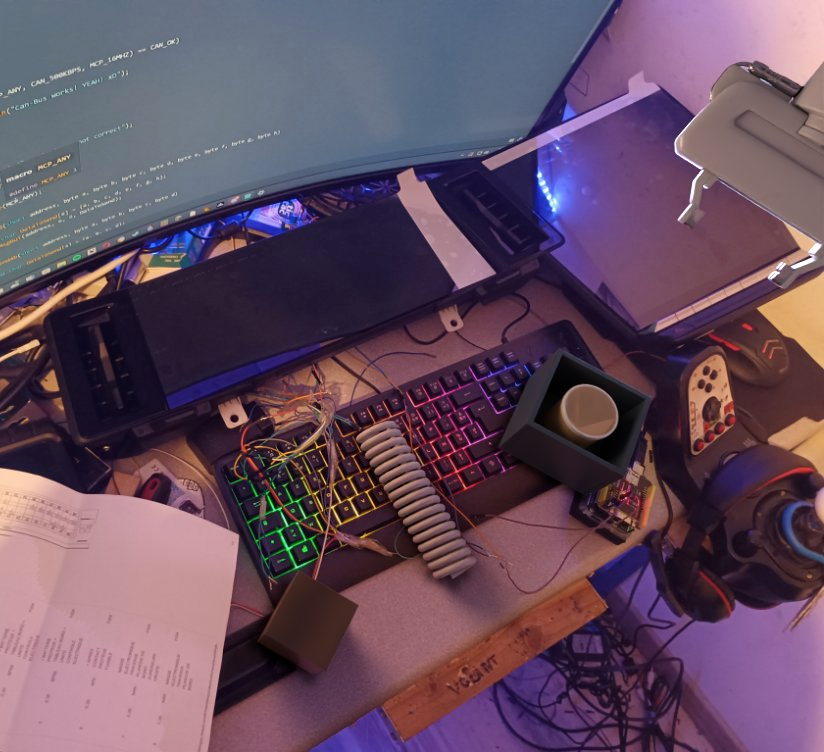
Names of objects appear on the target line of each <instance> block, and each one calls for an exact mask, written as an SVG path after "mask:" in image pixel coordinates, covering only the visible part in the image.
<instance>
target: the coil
mask: <svg viewBox="0 0 824 752" xmlns="http://www.w3.org/2000/svg"><path fill="white" fill-rule="evenodd" d="M397 426H398V425H397V423H396V422H395V421H393V420H386V421H382V422H380V423H377V424H374V425H373V426H371V427H368V428H366V429H364V430H363V431H362V432H360V433H358V435H357V436H356V437H355V441H356V443H358V444H361V445H360V451H363V452H366V453H365V454H364V456H365V459H367V460H369V465H370V467H371V468H375V469H374V474H375V475H376V476H380V477H379V478H378V481H379V483H380V484H385V485H384V486H383V490H384V492H386V493H389V494H388V499H389V500H390V501H394V500H395V501H394V502H393V505H392V506H393V508H394V509H399V511H398V512H397V514H398V515H397V516H399V517H400V518H404V517H405V518H404V519H403V520H402V524H403V525H404V526H406V527H408V526H409V527H408V529H407V532H408V534H410V535H414V536H413V537H412V541H413V543H415V544H418V546H417V550H418V551H419V552H420V553H423V554H422V558H423V560H424V561H427V562H428V561H429V562H428V563H427V568H428V569H429V570H431V571H433V570H434V571H433V572H432V577H433V578H434V579H435V580H436V579H437V580H439V579H442V578H445V577H447V576H450V578H451V580H454V579H455V578H456V577H458V576H460V575H461V574H463V573H464V572H466V571H467V570H469V569H470V568H471V567H473V566H474V565H475V564H476V563H477V558H476V557H475V556H472V555H471V553H472V549H471V548H469V547H467V546H466V544H467V543H466V542H467V541H466V539H464V538H460V537H461V531H460V530H459V529H455V528H456V523H455V521H453V520H450V519H451V514H450V512H447V511H446V506H445V504H443V503H440V502H441V497H440V496H439V495H438V494H436V489H435V488H434V487H433V486H431V480H430V479H429V478H426V471H424V470H423V469H421V464H420V462H418V461H416V455H415V454H414V453H411V451H412V448H411V446H409V445H407V440H406V438H405V437H402V431H401V430H400V429H398V427H397ZM393 457H394V458H393ZM398 465H399V466H398ZM399 475H401V476H399ZM398 476H399V477H398ZM396 477H397V478H396ZM401 485H403V486H401ZM399 486H400V487H399ZM398 487H399V488H398ZM407 493H408V494H407ZM405 494H406V495H405ZM400 497H401V498H400ZM407 504H408V505H407ZM403 506H404V507H403ZM402 507H403V508H402ZM400 508H401V509H400ZM406 516H407V517H406ZM410 525H411V526H410ZM465 546H466V547H465ZM470 555H471V556H470Z"/></svg>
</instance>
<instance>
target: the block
mask: <svg viewBox="0 0 824 752" xmlns="http://www.w3.org/2000/svg"><path fill="white" fill-rule="evenodd" d="M359 607H360V604H358V603H356V602H355V601H353V600H351V599H349V598H348V597H346V596H344V595H342V594H340V593H339V592H338V591H336V590H335V589H332V588H330V587H328V586H327V585H326V584H324V583H322V582H320V581H318V580H317V579H315V578H313V577H311V576H310V575H308V574H307V573H305V572H303V571H301V570H298V571H297V572H296V573H295V575H293V578H292V579H291V581H290V582H289V583H288V585H287V586H286V588H285V590H284V592H283V594H282V596H281V597H280V599H279V601H278V603H277V605H276V607H275V609H274V611H273V612H272V614H271V616H270V618H269V620H268V621H267V623H266V625H265V626H264V629H263V630H262V633H261V634H260V636H259V638H258V640H257V643H258V644H260V645H261V646H263V647H265V648H266V649H269V650H270V651H272V652H273V653H275V654H277V655H278V656H280V657H282V658H283V659H286V660H287V661H289V662H291V663H292V664H294V665H296V666H297V667H299V668H301V669H302V670H304V671H306V672H307V673H309V674H317V673H323V672H327V671H328V669H329V668H330V665H331V664H332V661H333V659H334V657H335V655H336V653H337V652H338V649H339V647H340V645H341V643H342V641H343V639H344V637H345V635H346V633H347V631H348V629H349V627H350V625H351V623H352V621H353V619H354V617H355V614H356V612H357V611H358V608H359Z"/></svg>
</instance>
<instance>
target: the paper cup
mask: <svg viewBox="0 0 824 752" xmlns="http://www.w3.org/2000/svg"><path fill="white" fill-rule="evenodd" d="M617 423H618V411H617V407H616V405H615V403H614V401H613V400H612V398H611V397H610V396H609V395H608V394H607V393H606V392H605V391H603V390H602V389H600V388H598V387H596V386H593V385H588V384H582V385H577V386H575V387H573V388H571V389H570V390H569V391H568V392H567V393H566V394H565V395H564V397H563V398H562V399H560V400H559V401H558V402H557V403H556V404H554V405H553V406H552V407H551V408H550V409H549V410H547V411H546V412H545V413H544V414H543V415H541V416H540V417H539V418H538V420H537V421H536V424H538V425H540V426H542V427H544V428H546V429H547V430H549V431H551V432H553V433H555V434H557V435H558V436H560V437H562V438H564V439H566V440H568V441H569V442H571V443H573V444H575V445H577V446H579V447H580V448H582V449H586V448H587V447H589V446H590V445H592V444H593V443H595V442H596V441H598V440H599V439H602V438H605V437H607V436H608V435H610V434H611V433H612V432H613V431H614V430H615V428H616V426H617Z"/></svg>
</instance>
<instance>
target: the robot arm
mask: <svg viewBox="0 0 824 752" xmlns="http://www.w3.org/2000/svg"><path fill="white" fill-rule="evenodd" d="M744 68H747V69H744ZM674 152H675V154H676V155H678V156H679V157H680V158H682V159H683V160H685V161H687V162H689V163H690V164H692V165H693V166H694V167H696V168H698V169H699V170H700V171H699V173H698V174H697V175H696V176H695V178H694V179H693V181H692V185H691V190H690V197H689V205H687V207H686V208H685V209H684V211H683V212H682V213H681V214H680V216H679V217H678V219H677V221H678V222H679V223H681V224H682V225H684V226H686V227H687V228H689V229H690V230H693V229H695V228H696V226H698V224H699V221H700V220H702V219H703V218H704V217H705V215H706V214H707V212H706V211H704V209H702V208H700V206H701V200H702V196H703V190H704V189H710V188H712V187H713V185H714V184H715V183H716V181H718V182H720V183H722V184H723V185H725V186H726V187H727V188H729V189H731V190H732V191H734V192H736V193H737V194H738V195H740V196H742V197H743V198H744V199H746V200H748V201H750V202H751V203H753V204H755V205H756V206H757V207H759V208H761V209H762V210H764V211H766V212H767V213H769V214H770V215H772V216H774V217H775V218H777V219H779V220H780V221H781V222H783V223H785V224H786V225H788V226H789V227H791V228H793V229H794V230H796V231H797V232H798V233H800V234H802V235H804V236H805V237H807V238H808V239H810V240H811V241H813V242H814V243H815V244H814V245H813V246H812V247H811V248H810V250H808V252H807V254H808V255H809V256H811V258H808V259H805V260H803V261H801V262H798V263H795V264H793V265H791V266H790V265H789V264H787V263H784V262H780V263H779V264H778V265H777V267H775V271H773V272H771V273H770V274H769V276H768V277H767V280H769V281H771V283H773V284H774V285H776V286H778V287H780V288H781V289H783V290H785V289H787V288H788V287H789V286H791V284H793V282H794V281H795V280H796V279H797V278H798V277H799V276H800V275H801V274H802V275H803V274H806V273H808V272H811V271H814V270H816V269H818V268H821V267H824V61H822V63H821V64H820V65H819V67H817V69H816V70H815V71H814V72H813V74H812V75H811V76H810V77H809V79H808V80H807V81H806V82H805V84H803V85H801V84H800V83H798V82H795V81H794V80H793V79H790V78H789V77H787V76H785V75H783V74H780V73H779V72H776V71H774V70H772V69H771V68H770V67H769V65H767V64H765V63H763V62H761V61H759V60H753V62H749V61H737V62H735V63H733V64H731V65H729V66H727V67H726V68H725V69H724V70H723V71H722V73H721V74H720V76H718V78H717V79H716V81H715V82H714V83H713V84H712V86H711V88H710V91H709V102H708V103H707V104H706V105H705V106H704V107H703V108H702V109H701V110H700V111H699V112H698V113H697V115H696V116H694V117H693V119H692V120H691V121H690V122H689V123H688V124H687V125H686V127H685V128H684V129H682V131H681V132H680V134H679V135H678V136H677V137H676V138H675V140H674Z"/></svg>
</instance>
